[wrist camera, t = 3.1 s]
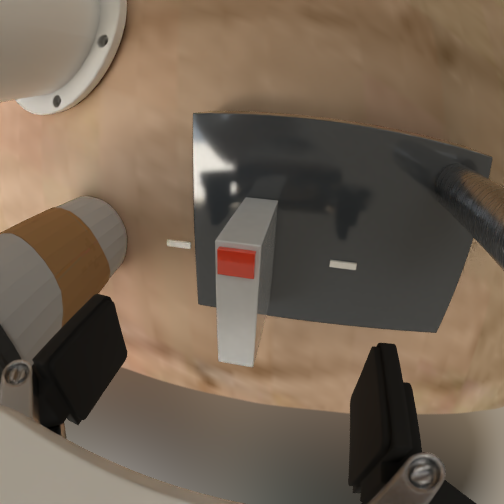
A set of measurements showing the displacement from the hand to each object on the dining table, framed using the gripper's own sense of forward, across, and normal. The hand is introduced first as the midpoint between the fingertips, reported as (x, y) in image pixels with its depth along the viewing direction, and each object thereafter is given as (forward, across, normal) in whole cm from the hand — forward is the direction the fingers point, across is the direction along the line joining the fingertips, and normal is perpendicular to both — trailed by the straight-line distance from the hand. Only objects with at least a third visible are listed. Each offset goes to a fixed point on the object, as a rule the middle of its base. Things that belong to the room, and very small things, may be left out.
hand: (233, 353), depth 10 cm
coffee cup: (+10, +14, +1) cm, 17 cm away
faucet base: (+10, -4, -2) cm, 11 cm away
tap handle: (+7, 0, 0) cm, 7 cm away
